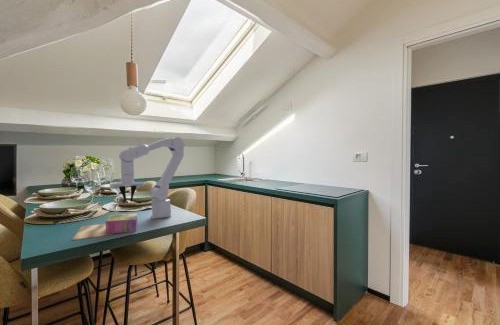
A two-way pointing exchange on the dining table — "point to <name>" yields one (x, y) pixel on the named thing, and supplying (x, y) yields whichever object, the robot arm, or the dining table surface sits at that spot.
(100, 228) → the wooden board
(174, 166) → the robot arm
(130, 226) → the box
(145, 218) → the dining table surface
